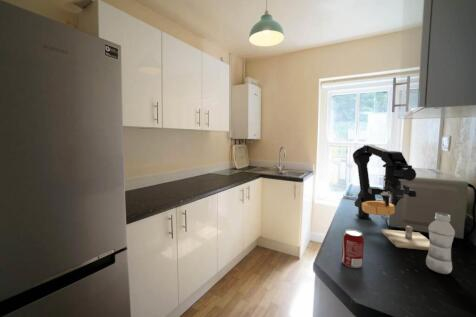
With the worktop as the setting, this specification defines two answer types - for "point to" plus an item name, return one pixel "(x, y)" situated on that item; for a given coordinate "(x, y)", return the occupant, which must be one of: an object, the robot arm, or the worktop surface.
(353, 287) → the worktop surface
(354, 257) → the soda can
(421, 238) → the hook stand
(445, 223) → the plastic bottle
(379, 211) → the orange octagonal ring
